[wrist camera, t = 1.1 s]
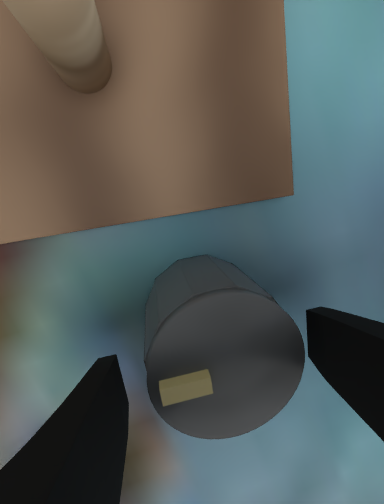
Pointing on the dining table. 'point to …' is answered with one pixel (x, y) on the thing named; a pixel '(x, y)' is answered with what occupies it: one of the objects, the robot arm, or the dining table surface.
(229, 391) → the cap
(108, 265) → the dining table surface
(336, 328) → the robot arm
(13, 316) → the dining table surface
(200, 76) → the post board
